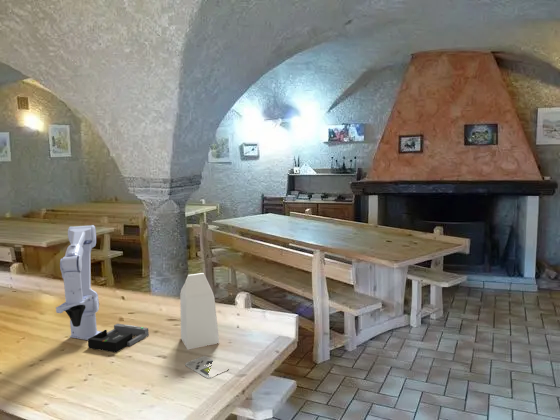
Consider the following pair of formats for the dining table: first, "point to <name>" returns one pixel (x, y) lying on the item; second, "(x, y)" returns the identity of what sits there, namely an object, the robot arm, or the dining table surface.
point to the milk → (198, 313)
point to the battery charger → (109, 341)
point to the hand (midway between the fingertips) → (76, 325)
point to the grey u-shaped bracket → (135, 331)
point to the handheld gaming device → (200, 365)
